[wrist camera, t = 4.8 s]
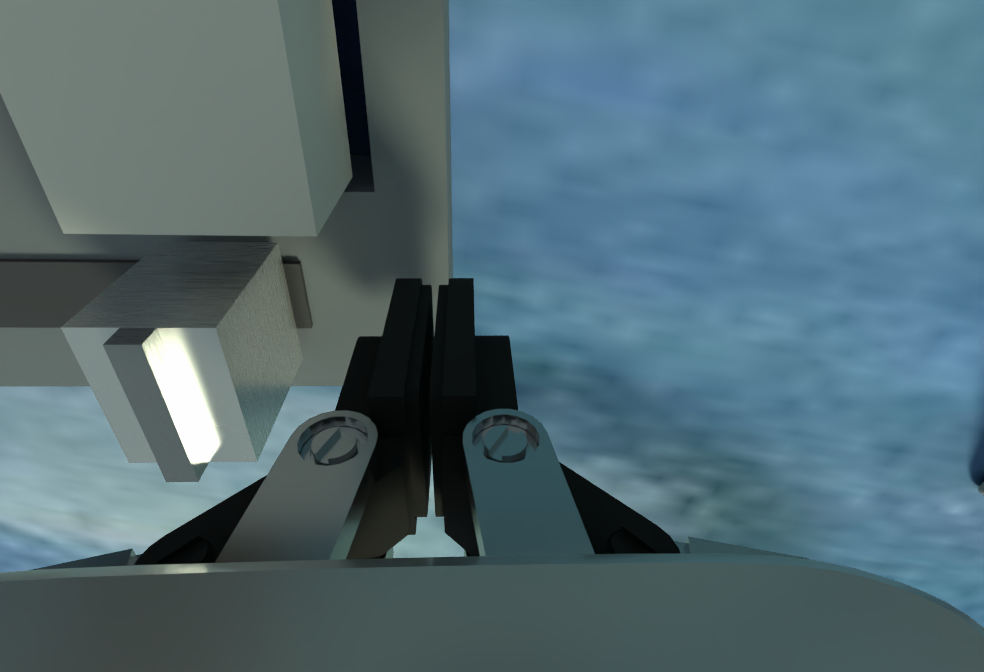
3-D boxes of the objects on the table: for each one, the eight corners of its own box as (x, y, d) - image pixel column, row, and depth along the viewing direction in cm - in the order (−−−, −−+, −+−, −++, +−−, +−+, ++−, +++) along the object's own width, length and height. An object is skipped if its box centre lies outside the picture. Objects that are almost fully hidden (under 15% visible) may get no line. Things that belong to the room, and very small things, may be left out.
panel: (-473, -146, 10) (-791, -190, 8) (446, -108, 11) (439, -135, 9) (-125, 325, 16) (-237, 390, 14) (453, 327, 17) (450, 389, 15)
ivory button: (84, -65, 9) (-81, -85, 6) (324, -57, 9) (265, -72, 6) (160, 173, 11) (63, 233, 8) (352, 176, 11) (316, 236, 9)
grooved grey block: (162, 241, 12) (40, 344, 8) (278, 242, 12) (202, 344, 8) (203, 358, 13) (115, 482, 10) (302, 358, 14) (249, 481, 10)
